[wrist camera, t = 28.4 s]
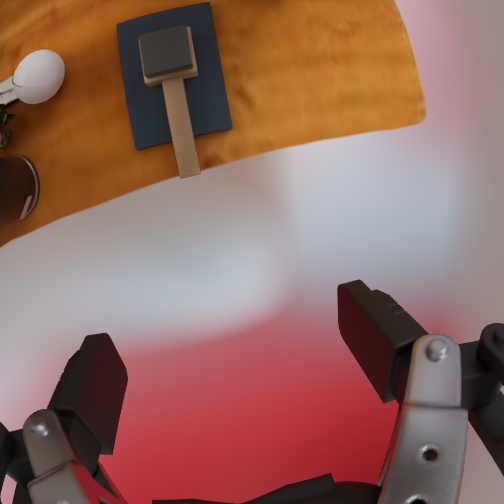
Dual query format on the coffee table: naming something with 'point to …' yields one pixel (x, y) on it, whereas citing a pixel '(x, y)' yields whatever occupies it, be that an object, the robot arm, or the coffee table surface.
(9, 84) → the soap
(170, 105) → the brush
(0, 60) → the coffee table surface
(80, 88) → the coffee table surface
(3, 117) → the mushroom
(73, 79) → the coffee table surface
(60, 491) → the robot arm
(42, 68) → the white egg
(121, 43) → the mat
